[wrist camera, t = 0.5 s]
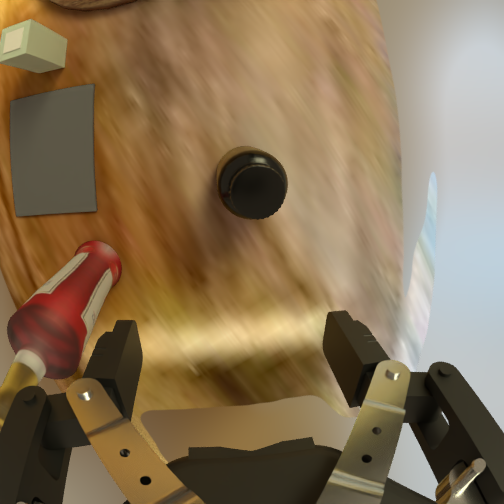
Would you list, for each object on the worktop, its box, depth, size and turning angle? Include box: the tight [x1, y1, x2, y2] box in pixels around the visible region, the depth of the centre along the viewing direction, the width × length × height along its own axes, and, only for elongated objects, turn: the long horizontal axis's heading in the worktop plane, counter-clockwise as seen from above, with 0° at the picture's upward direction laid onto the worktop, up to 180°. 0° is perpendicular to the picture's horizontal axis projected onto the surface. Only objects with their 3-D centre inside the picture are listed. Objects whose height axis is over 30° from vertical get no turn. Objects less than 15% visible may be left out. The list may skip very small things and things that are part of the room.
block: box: [0, 19, 67, 73], centre depth 24 cm, size 4×4×10 cm
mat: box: [10, 84, 97, 216], centre depth 33 cm, size 16×13×1 cm
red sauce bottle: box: [0, 241, 122, 431], centre depth 26 cm, size 7×7×28 cm
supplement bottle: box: [216, 146, 288, 220], centre depth 32 cm, size 7×7×12 cm
